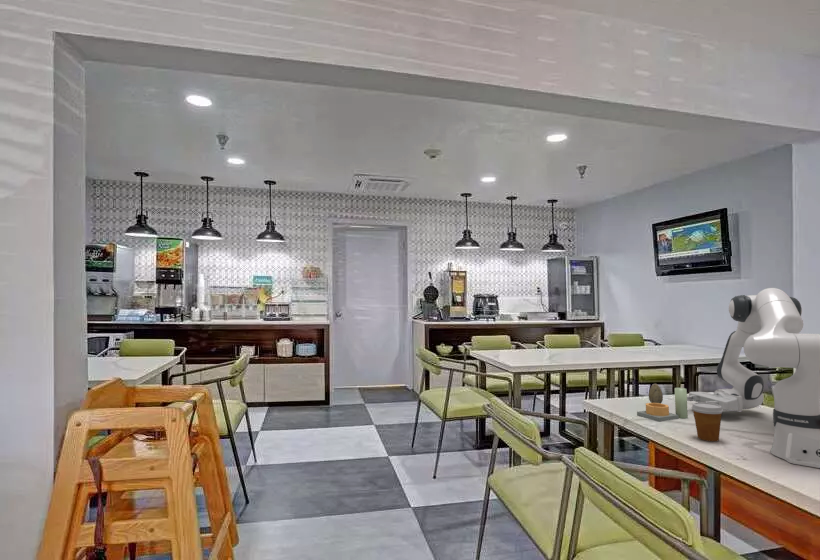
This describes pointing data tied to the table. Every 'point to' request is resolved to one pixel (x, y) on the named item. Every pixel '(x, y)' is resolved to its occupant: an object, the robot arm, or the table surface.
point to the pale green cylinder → (681, 402)
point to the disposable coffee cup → (707, 420)
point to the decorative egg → (655, 394)
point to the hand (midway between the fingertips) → (696, 401)
